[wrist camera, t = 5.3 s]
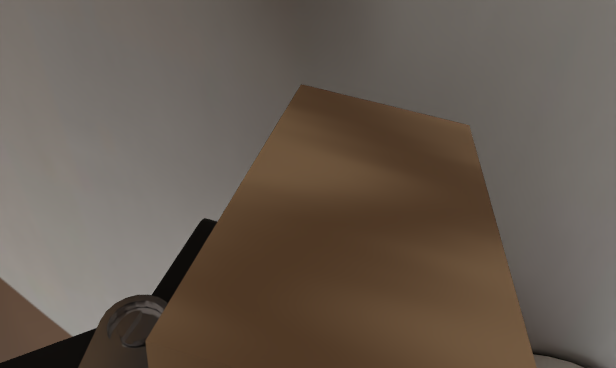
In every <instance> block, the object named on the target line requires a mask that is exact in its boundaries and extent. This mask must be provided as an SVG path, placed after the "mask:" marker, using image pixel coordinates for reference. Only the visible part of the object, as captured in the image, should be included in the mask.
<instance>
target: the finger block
mask: <svg viewBox="0 0 616 368" xmlns="http://www.w3.org/2000/svg"><path fill="white" fill-rule="evenodd" d="M145 343H146V351H147V359H148V367H149V368H537V367H536V363H535V360H534V356H533V352H532V349H531V345H530V342H529V338H528V334H527V331H526V327H525V324H524V320H523V316H522V313H521V309H520V306H519V302H518V299H517V295H516V291H515V288H514V284H513V281H512V277H511V273H510V270H509V266H508V263H507V259H506V255H505V252H504V248H503V245H502V241H501V238H500V234H499V230H498V227H497V223H496V220H495V216H494V212H493V209H492V205H491V202H490V198H489V195H488V191H487V187H486V184H485V180H484V177H483V173H482V169H481V166H480V162H479V159H478V155H477V151H476V148H475V144H474V141H473V137H472V134H471V130H470V126H469V125H466V124H462V123H458V122H454V121H450V120H446V119H441V118H437V117H433V116H429V115H425V114H421V113H417V112H413V111H409V110H405V109H400V108H396V107H392V106H388V105H384V104H380V103H376V102H372V101H368V100H364V99H359V98H355V97H351V96H347V95H343V94H339V93H335V92H331V91H327V90H323V89H318V88H314V87H310V86H306V85H302V84H301V85H300V87H299V89H298V90H297V92H296V94H295V95H294V97H293V99H292V100H291V102H290V103H289V105H288V107H287V108H286V110H285V112H284V113H283V115H282V117H281V118H280V120H279V122H278V123H277V125H276V127H275V128H274V130H273V131H272V133H271V135H270V136H269V138H268V140H267V141H266V143H265V145H264V146H263V148H262V150H261V151H260V153H259V155H258V156H257V158H256V159H255V161H254V163H253V164H252V166H251V168H250V169H249V171H248V173H247V174H246V176H245V178H244V179H243V181H242V183H241V184H240V186H239V187H238V189H237V191H236V192H235V194H234V196H233V197H232V199H231V201H230V202H229V204H228V206H227V207H226V209H225V211H224V212H223V214H222V215H221V217H220V219H219V220H218V222H217V224H216V225H215V227H214V229H213V230H212V232H211V234H210V235H209V237H208V239H207V240H206V242H205V243H204V245H203V247H202V248H201V250H200V252H199V253H198V255H197V257H196V258H195V260H194V262H193V263H192V265H191V267H190V268H189V270H188V271H187V273H186V275H185V276H184V278H183V280H182V281H181V283H180V285H179V286H178V288H177V290H176V291H175V293H174V295H173V296H172V298H171V299H170V301H169V303H168V304H167V306H166V308H165V309H164V311H163V313H162V314H161V316H160V318H159V319H158V321H157V323H156V324H155V326H154V327H153V329H152V331H151V332H150V334H149V336H148V337H147V339H146V341H145Z"/></svg>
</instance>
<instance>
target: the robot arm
mask: <svg viewBox="0 0 616 368" xmlns="http://www.w3.org/2000/svg"><path fill="white" fill-rule="evenodd" d="M216 224H217V221H213V220H210V219H206V218H204V219H203V220H202V221H201V222H200V223H199V224H198V226H197V227H196V229H195V230H194V232H193V233H192V235H191V237H190V238H189V240H188V241H187V243H186V244H185V246H184V247H183V249H182V250H181V252H180V253H179V255H178V256H177V258H176V259H175V261H174V262H173V264H172V265H171V267H170V268H169V270H168V271H167V273H166V274H165V276H164V277H163V279H162V280H161V282H160V283H159V285H158V286H157V288H156V289H155V291H154V292H153V294H152V295H135V296H131V297H128V298H125V299H123V300H121V301H119V302H117V303H115V304H114V305H113V306H112V307H111V308H110V309H108V310H107V311H106V313H105V314H104V316H103V317H102V319H101V320H100V322H99V325H98V327H97V328H96V329H93V330H90V331H87V332H85V333H82V334H79V335H76V336H74V337H71V338H68V339H66V340H63V341H60V342H57V343H54V344H52V345H49V346H46V347H44V348H41V349H38V350H35V351H32V352H30V353H27V354H24V355H22V356H19V357H16V358H13V359H10V360H8V361H5V362H2V363H0V368H149V367H148V359H147V351H146V343H145V341H146V339H147V337H148V336H149V334H150V332H151V331H152V329H153V327H154V326H155V324H156V323H157V321H158V319H159V318H160V316H161V314H162V313H163V311H164V309H165V308H166V306H167V304H168V303H169V301H170V299H171V298H172V296H173V295H174V293H175V291H176V290H177V288H178V286H179V285H180V283H181V281H182V280H183V278H184V276H185V275H186V273H187V271H188V270H189V268H190V267H191V265H192V263H193V262H194V260H195V258H196V257H197V255H198V253H199V252H200V250H201V248H202V247H203V245H204V243H205V242H206V240H207V239H208V237H209V235H210V234H211V232H212V230H213V229H214V227H215V225H216ZM533 356H534V360H535V363H536V367H537V368H584V367H581V366H579V365H576V364H574V363H571V362H568V361H564V360H560V359H556V358H552V357H549V356H542V355H535V354H533Z"/></svg>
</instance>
